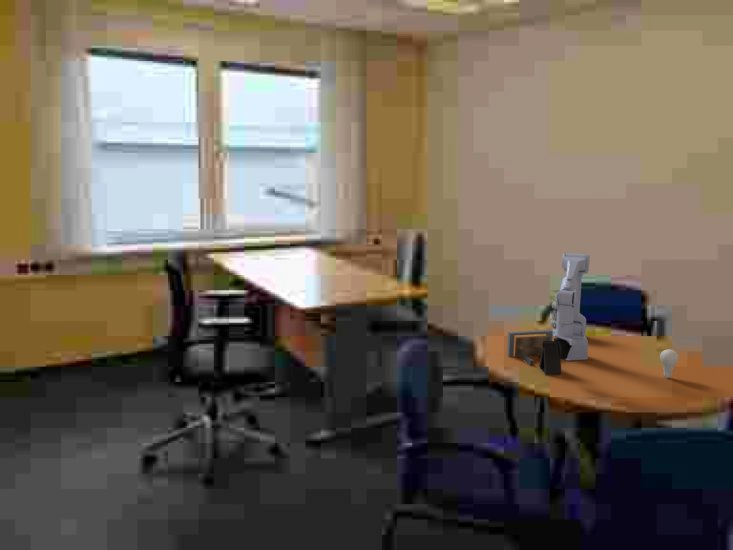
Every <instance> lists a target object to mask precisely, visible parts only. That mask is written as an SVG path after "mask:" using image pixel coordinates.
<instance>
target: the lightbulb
mask: <svg viewBox="0 0 733 550" xmlns="http://www.w3.org/2000/svg"><path fill="white" fill-rule="evenodd" d="M659 360H660V363H661V364H662V368H663V376H664V378H666V379H669V378H671V377H672V374H673V371H674V368H675V366H676V365H677V363H678V361H679V355H678V353H677V352H676V351H675V350H673V349H669V348H668V349H665V350H663V351H661V353H660V355H659Z"/></svg>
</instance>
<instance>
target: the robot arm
mask: <svg viewBox="0 0 733 550" xmlns="http://www.w3.org/2000/svg"><path fill="white" fill-rule="evenodd" d="M590 257H591V256H590V254H588V253H586V254H585V253H584V254H583V253H570V252H569V253H567V252H564V253H563V254H562V258H561V268H562V269H563V271H564V272H566V275H565V277H563V278H562V279H561V283H560V288H559V290H557V293H556V296H555V300H556V303H557V325H556V329H555V328H552V331H553V336H552V337H554V338H553V341H555V344H556V346H557V350H558V356H559V358H561V360H565V361H581V360H582V361H583V360H585V361H586V360H589V357H588V349H589V341H588V338H587V336H586V331H587V319H586V318H587V317H585V316H584V315H583V314H582V313H581V312H580V309H581V295H582V293H581V292H582V280H583V275H584V274H588V273H589V271H590V261H591V260H590V259H591V258H590Z"/></svg>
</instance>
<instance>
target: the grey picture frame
mask: <svg viewBox="0 0 733 550" xmlns="http://www.w3.org/2000/svg"><path fill="white" fill-rule="evenodd" d="M544 334H545V336H549V341H553V337H554V336H553V329H552V330H551V329H540V330H539V329H538V330H519V331H507V347H506V348H507V350H506V356H508V357H509V356H513V357H515V336H528V335H530V336H531V335H544Z"/></svg>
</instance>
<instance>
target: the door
mask: <svg viewBox="0 0 733 550" xmlns="http://www.w3.org/2000/svg"><path fill="white" fill-rule="evenodd" d="M543 341H549V336H546V335H539V336H537V335H536V336H522V337H521V336H520V337H516V336H515V341H514V357H515V358H521V354H522V353H524V354H526V355H527V356H528V357H529V358H530V357H541V352H542V347H543Z"/></svg>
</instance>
